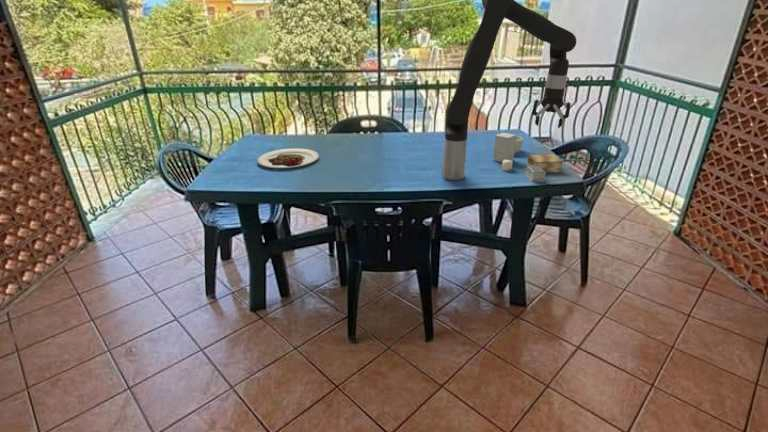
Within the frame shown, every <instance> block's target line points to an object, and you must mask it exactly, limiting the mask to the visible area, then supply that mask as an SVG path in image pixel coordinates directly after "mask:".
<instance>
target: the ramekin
mask: <svg viewBox="0 0 768 432" xmlns="http://www.w3.org/2000/svg"><path fill="white" fill-rule="evenodd" d="M523 142H524V138H523V137H522V136H519V135H516V142H515V151H514V155H516V154H517V153H519V152H520V151H521V148H522V145H523Z"/></svg>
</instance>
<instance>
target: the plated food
mask: <svg viewBox="0 0 768 432" xmlns="http://www.w3.org/2000/svg"><path fill="white" fill-rule="evenodd" d="M318 159H319V153H318V152H317V151H315V150H312V149H307V148H283V149H277V150H272V151H269V152H268V151H267V152H266V153H264V154H262V155H260V156H259V157H258V158H257V160H256V161H257V163H258V164H259V165H261V167H265V168H272V169H273V168H274V169H291V168H292V169H294V168H297V167H303V166H307V165H309V164H312V163H315V162H316V161H317V160H318Z"/></svg>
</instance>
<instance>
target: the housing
mask: <svg viewBox="0 0 768 432" xmlns="http://www.w3.org/2000/svg"><path fill="white" fill-rule="evenodd" d="M524 171H525V173H524V174H525V175H526V176H527V177H528V179H529V180H530V181H531V182H533V183H538V182H539V183H541V182H543V183H544V182H545V181H546V174H547V172H545V171H544V170H543V169H542V168H541V167H540V166H539V165H527V164H526V166H525V170H524Z"/></svg>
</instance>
